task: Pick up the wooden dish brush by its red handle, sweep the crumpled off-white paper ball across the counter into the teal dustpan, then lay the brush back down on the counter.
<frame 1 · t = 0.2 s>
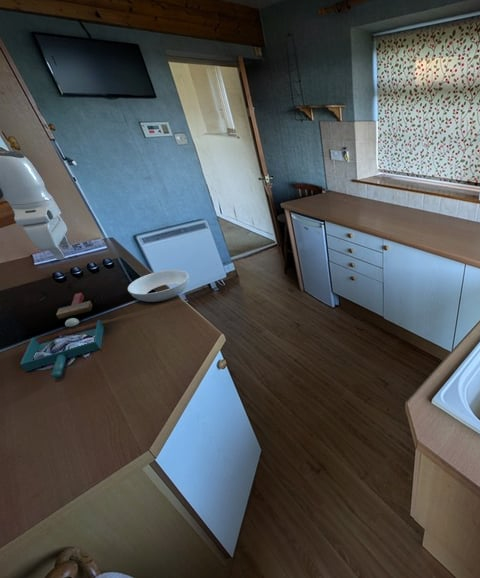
hand: (64, 253, 94), 28 cm above the worktop, tool pointing down, fingers open, 8 cm apart
serving bowl: (165, 295, 125), on the worktop
brush: (78, 315, 112), on the worktop
paper wad: (75, 327, 106), on the worktop
dustpan: (69, 347, 97), on the worktop
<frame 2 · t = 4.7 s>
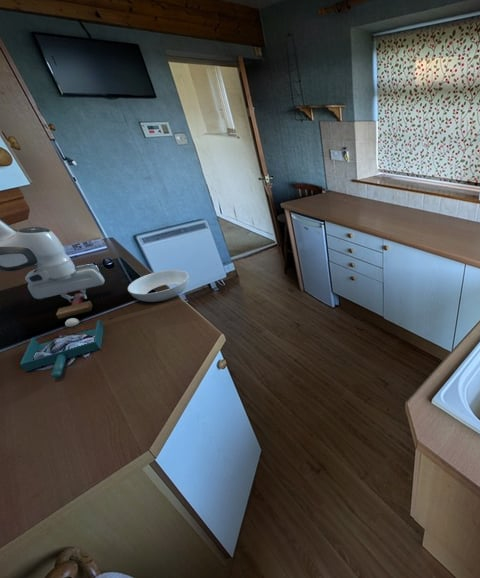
hand: (78, 300, 117), 2 cm above the worktop, tool pointing down, fingers closed on brush, 2 cm apart
brush: (78, 315, 112), on the worktop, touching gripper
everything else where it was.
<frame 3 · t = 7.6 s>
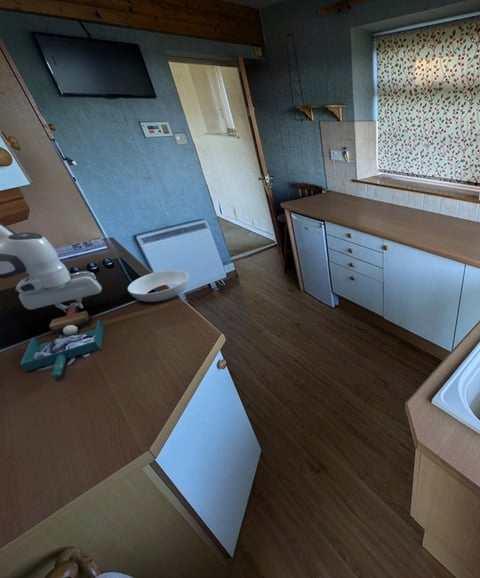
hand: (74, 309, 110), 3 cm above the worktop, tool pointing down, fingers closed on brush, 2 cm apart
brush: (73, 326, 105), point 1 cm above the worktop, touching gripper, paper wad
paper wad: (68, 325, 101), point 3 cm above the worktop, tilted 156°, touching brush, dustpan
everything else where it was.
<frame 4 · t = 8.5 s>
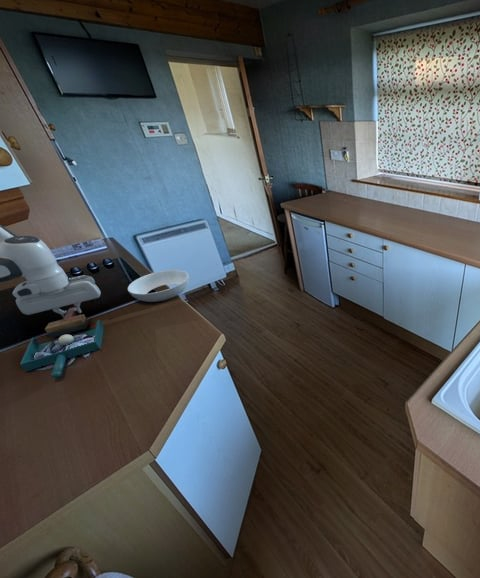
hand: (72, 314, 107), 3 cm above the worktop, tool pointing down, fingers closed on brush, 2 cm apart
brush: (70, 329, 102), point 2 cm above the worktop, tilted 6°, touching gripper
paper wad: (69, 343, 98), resting on dustpan, tilted 10°
everything else where it was.
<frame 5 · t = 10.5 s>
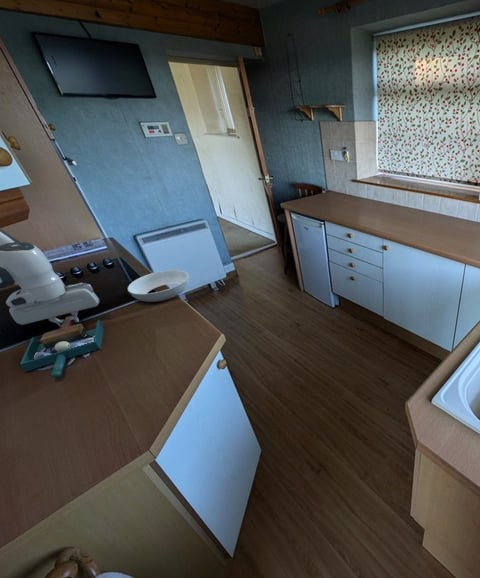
hand: (69, 323, 103), 3 cm above the worktop, tool pointing down, fingers closed on brush, 2 cm apart
brush: (67, 340, 97), point 2 cm above the worktop, tilted 6°, touching gripper
paper wad: (60, 342, 94), point 4 cm above the worktop, tilted 136°, touching dustpan
everything else where it was.
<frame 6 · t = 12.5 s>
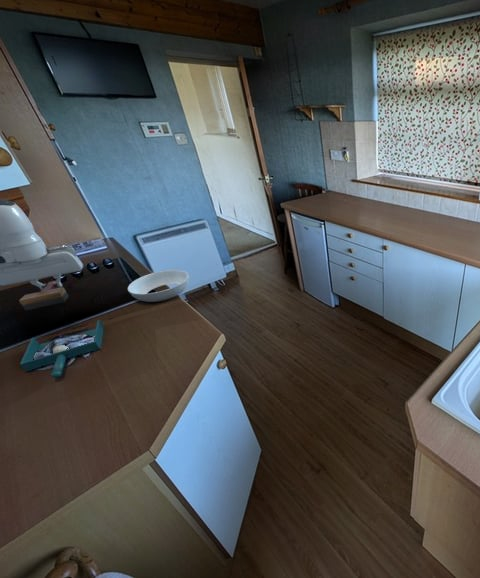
hand: (52, 288, 100), 15 cm above the worktop, tool pointing down, fingers closed on brush
brush: (48, 303, 94), point 14 cm above the worktop, tilted 6°, touching gripper
paper wad: (56, 348, 91), point 4 cm above the worktop, tilted 154°, touching dustpan
everything else where it was.
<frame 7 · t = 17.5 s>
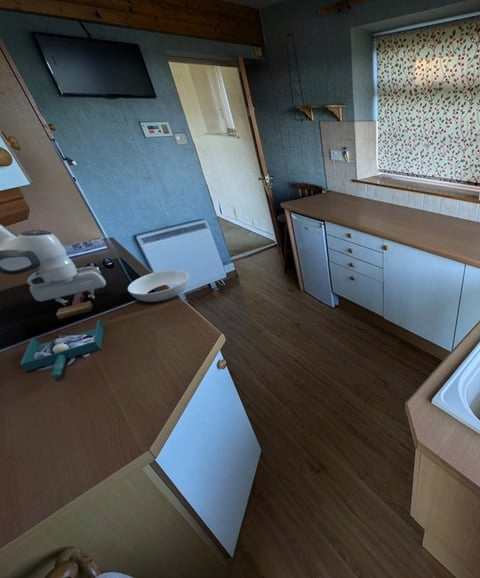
hand: (80, 302, 118), 1 cm above the worktop, tool pointing down, fingers open, 6 cm apart
brush: (78, 315, 112), on the worktop
paper wad: (56, 344, 92), point 4 cm above the worktop, tilted 160°, touching dustpan
everything else where it was.
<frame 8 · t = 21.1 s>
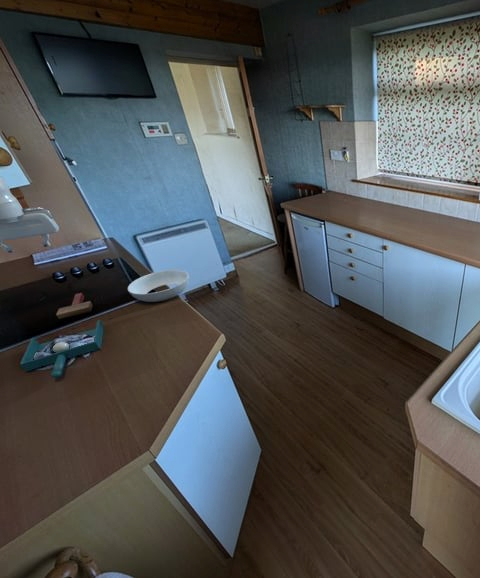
hand: (29, 248, 106), 24 cm above the worktop, tool pointing down, fingers open, 8 cm apart
paper wad: (57, 343, 93), point 3 cm above the worktop, tilted 135°, touching dustpan
everything else where it was.
at the end: paper wad inside the target area in the dustpan (1.9 cm from its centre), point 3.4 cm above the dustpan's base; the gripper is holding nothing; brush inside the target area (2.1 cm from its centre), on the worktop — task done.
